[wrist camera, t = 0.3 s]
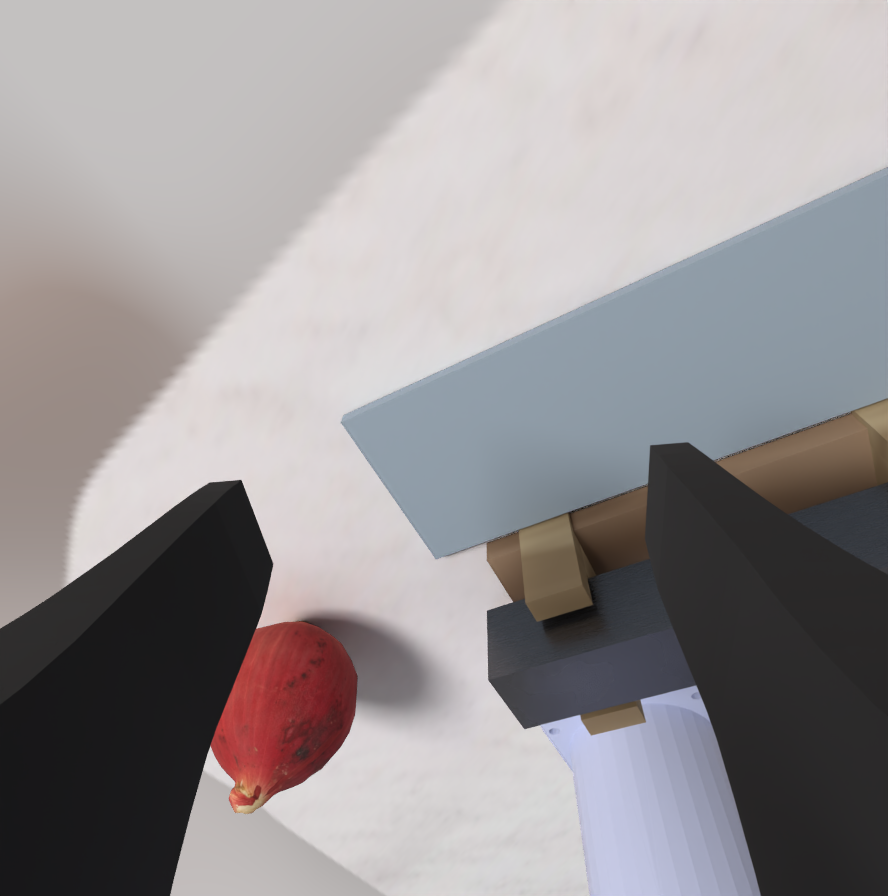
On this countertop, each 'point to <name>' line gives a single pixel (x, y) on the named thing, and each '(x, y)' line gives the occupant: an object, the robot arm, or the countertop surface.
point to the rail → (634, 628)
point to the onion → (284, 712)
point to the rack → (624, 520)
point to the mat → (646, 376)
